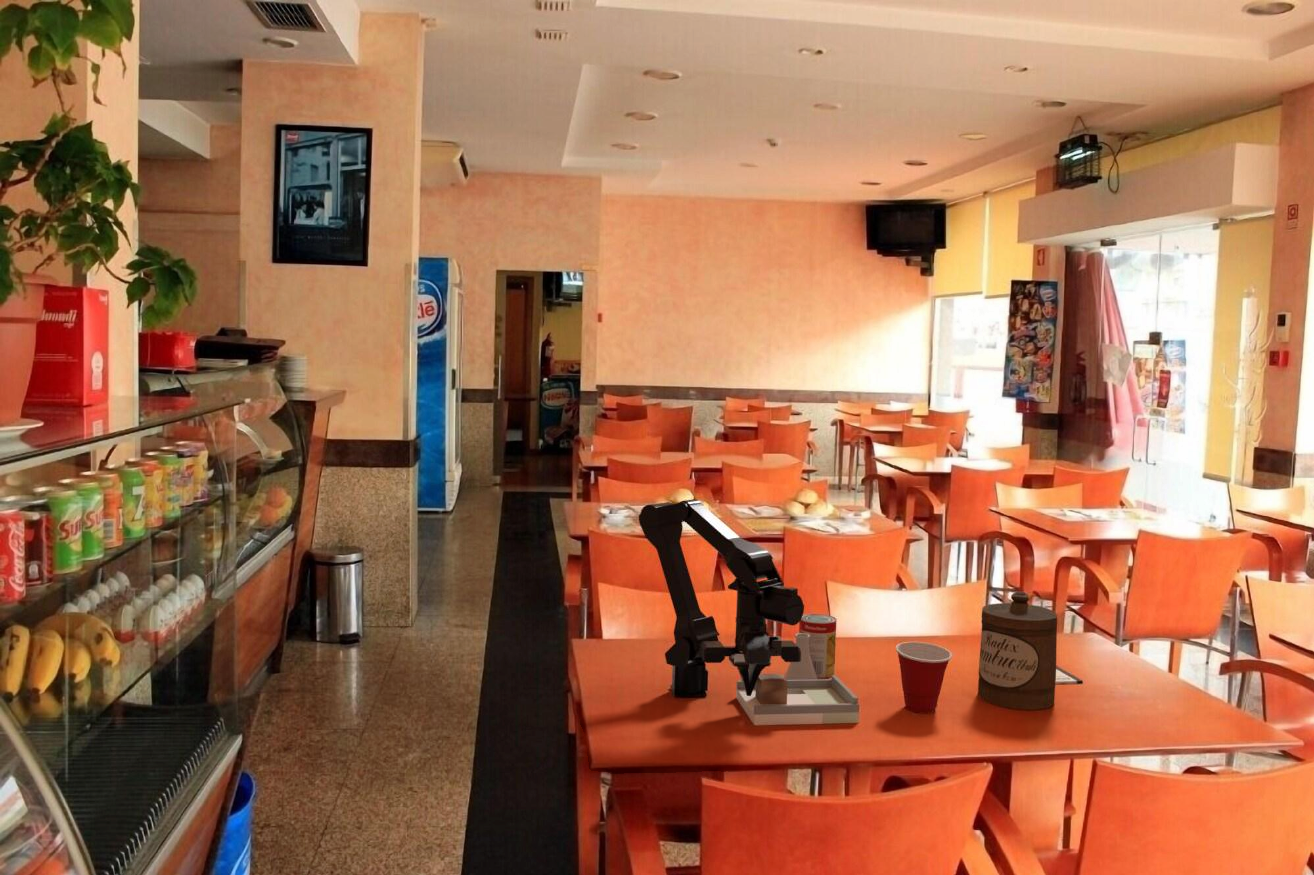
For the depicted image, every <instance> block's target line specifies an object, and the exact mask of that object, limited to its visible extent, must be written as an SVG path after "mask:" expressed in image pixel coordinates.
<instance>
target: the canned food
mask: <svg viewBox="0 0 1314 875" xmlns="http://www.w3.org/2000/svg"><path fill="white" fill-rule="evenodd" d="M837 621H838V620H837V618H836V617H835V616H832V615H829V614H822V613H807V614H806V613H805V614H803V616H802V618H801V620H800V622H799V623H798V633H805V634H809V635H810V638H809V652H810V656H811V660H812V663H813V667H814V670H815V673H816V676H817V679H826V678H825V677H827V678H831V677H832V675H835V668H836V666H835V664H836V645H837V644H836V640H837Z"/></svg>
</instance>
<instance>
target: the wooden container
mask: <svg viewBox="0 0 1314 875" xmlns="http://www.w3.org/2000/svg"><path fill="white" fill-rule="evenodd" d="M1010 598H1011V601H1012V602H1011V603H1010V602H1006V603H1005V602H1003V603H990V604H986V605H984V606H982V609H981V632H980V636H981V637H980V648H979V660H978V682H977V683H978V687H977V695H978V697H979V698H980V699H982V700H983V701H984V702H986V703H988V702H989V703H988V704H991V705H994V706H997V705H998V706H997V707H1002V708H1005V707H1006V709H1012V710H1022V711H1023V710H1025V711H1028V710H1029V711H1034V710H1035V711H1037V710H1043V709H1047V708H1051V707H1053V705H1055V699H1056V696H1055V695H1056V684H1055V682H1056V666H1057V643H1058V642H1057V641H1058V640H1057V639H1058V638H1057V637H1058V634H1057V633H1058V613H1057V612H1056V611H1054V610H1052V609H1050V608H1046V607H1043V606H1038V605H1035V604H1034V605H1033V604H1029V603H1028V602H1029V600H1030V595H1029V594H1028V593H1026V592H1024V591H1022V590H1021V591H1020V590H1019V591H1015V592H1014V593H1012V594H1011V595H1010Z"/></svg>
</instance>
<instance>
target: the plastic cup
mask: <svg viewBox="0 0 1314 875" xmlns="http://www.w3.org/2000/svg"><path fill="white" fill-rule="evenodd" d="M895 651H896V652H897V657H898V661H899V662H898V663H899V668H900V677H901V678H900V679H901V686H902V692H903V699H904V705H905V709H907V710H908V711H910V712H914V713H919V714H930V713H933V712H935V711H936V709H937V707H938V706H937V705H938V702H939V696H940V693H941V691H942V686H943V681H944V677H945V672H946V670H947V667H948V664H949V661H950V660H951V659H952V657H953V653H952V652H951V650H949V649H947V648H946V647H943V646H940V645H938V644H935V643H929V642H923V641H905V642H901V643H898V644H896V646H895Z"/></svg>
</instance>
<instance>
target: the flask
mask: <svg viewBox="0 0 1314 875" xmlns="http://www.w3.org/2000/svg"><path fill="white" fill-rule="evenodd" d="M794 637H795V644H796V645H797V646H798V647H799V648H800V650H801V661H800V662H789V664H788V667H787V670H786V671H785V675H784V677H785V679H786V680H806V679H818V678H817V676H816V673H815V670H814V667H813V663H812V660H811V656H810V652H809V638H810V635H809V634H805V633H799V632H798V633H795V634H794Z"/></svg>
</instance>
